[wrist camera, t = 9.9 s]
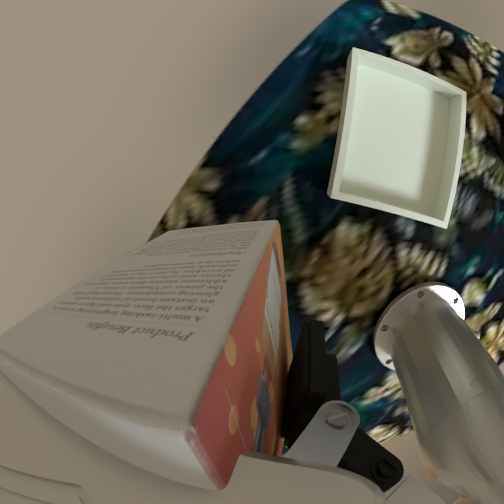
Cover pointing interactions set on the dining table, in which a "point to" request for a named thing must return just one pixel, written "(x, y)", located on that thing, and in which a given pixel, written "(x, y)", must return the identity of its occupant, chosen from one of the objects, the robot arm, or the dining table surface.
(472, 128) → the dining table surface
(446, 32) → the dining table surface
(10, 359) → the small box
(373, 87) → the tray
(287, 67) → the dining table surface
